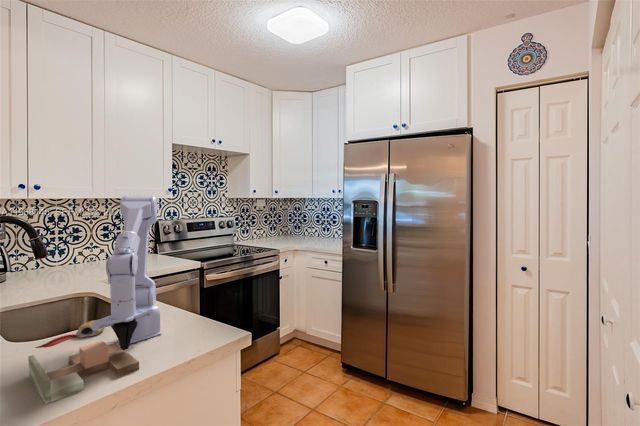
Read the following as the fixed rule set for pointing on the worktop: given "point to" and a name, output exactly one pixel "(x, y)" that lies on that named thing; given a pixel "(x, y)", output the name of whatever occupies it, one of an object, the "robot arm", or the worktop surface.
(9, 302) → the worktop surface
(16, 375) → the worktop surface
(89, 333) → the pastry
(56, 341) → the cayenne pepper
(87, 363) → the block
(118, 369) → the blocky structure
